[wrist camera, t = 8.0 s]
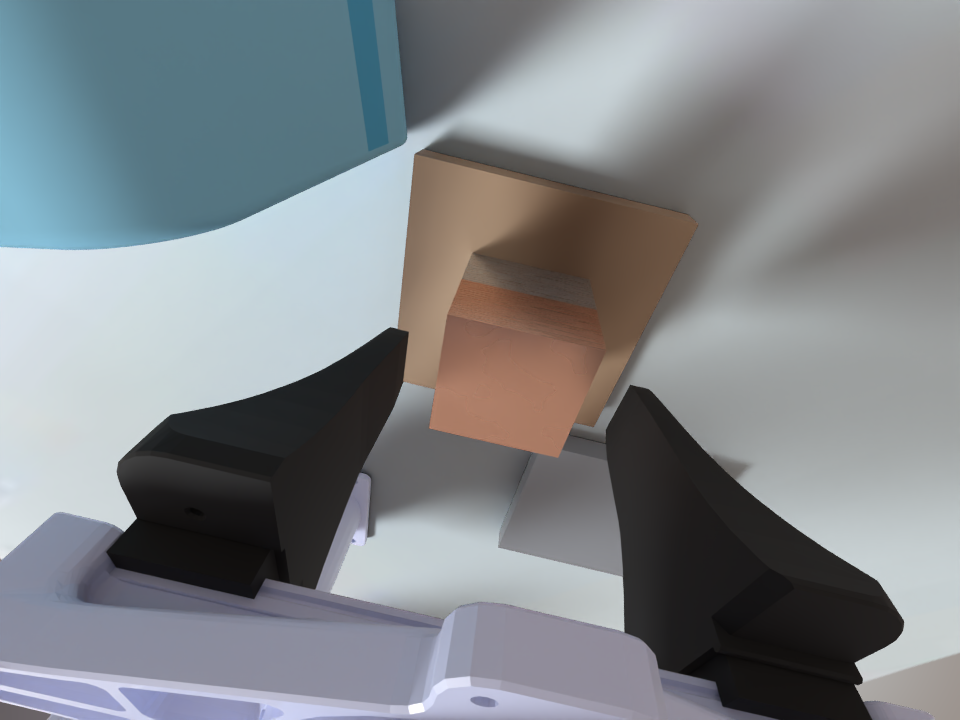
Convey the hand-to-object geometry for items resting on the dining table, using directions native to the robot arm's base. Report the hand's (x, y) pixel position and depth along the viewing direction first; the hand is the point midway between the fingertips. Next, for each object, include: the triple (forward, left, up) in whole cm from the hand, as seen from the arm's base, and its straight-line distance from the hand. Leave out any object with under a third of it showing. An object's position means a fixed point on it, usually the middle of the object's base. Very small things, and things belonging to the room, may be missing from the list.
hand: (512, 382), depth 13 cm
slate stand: (+8, -12, -6) cm, 15 cm away
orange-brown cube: (0, 0, -5) cm, 5 cm away
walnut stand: (0, 0, -6) cm, 6 cm away
